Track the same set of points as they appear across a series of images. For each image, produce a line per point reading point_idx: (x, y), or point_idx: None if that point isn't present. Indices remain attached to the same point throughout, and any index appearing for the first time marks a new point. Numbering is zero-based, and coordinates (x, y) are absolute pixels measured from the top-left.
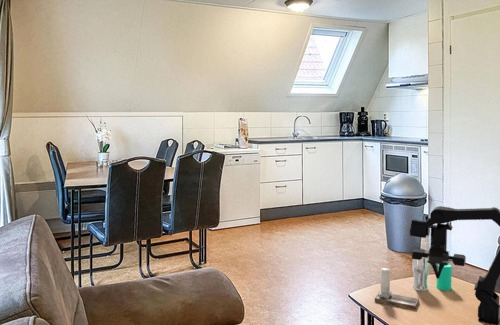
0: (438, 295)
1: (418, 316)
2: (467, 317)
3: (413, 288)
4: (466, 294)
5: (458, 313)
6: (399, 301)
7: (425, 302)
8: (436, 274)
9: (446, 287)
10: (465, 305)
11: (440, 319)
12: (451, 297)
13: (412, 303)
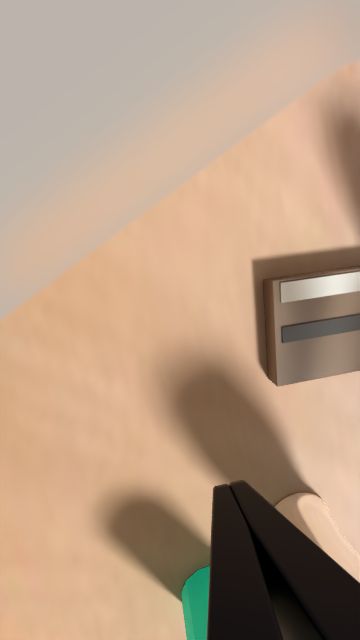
0: (211, 504)
1: (230, 210)
2: (14, 356)
3: (322, 500)
4: (108, 590)
5: (70, 374)
6: (356, 289)
7: (242, 396)
8: (274, 533)
9: (198, 589)
10: (72, 482)
11: (123, 244)
12: (155, 521)
13: (293, 309)
